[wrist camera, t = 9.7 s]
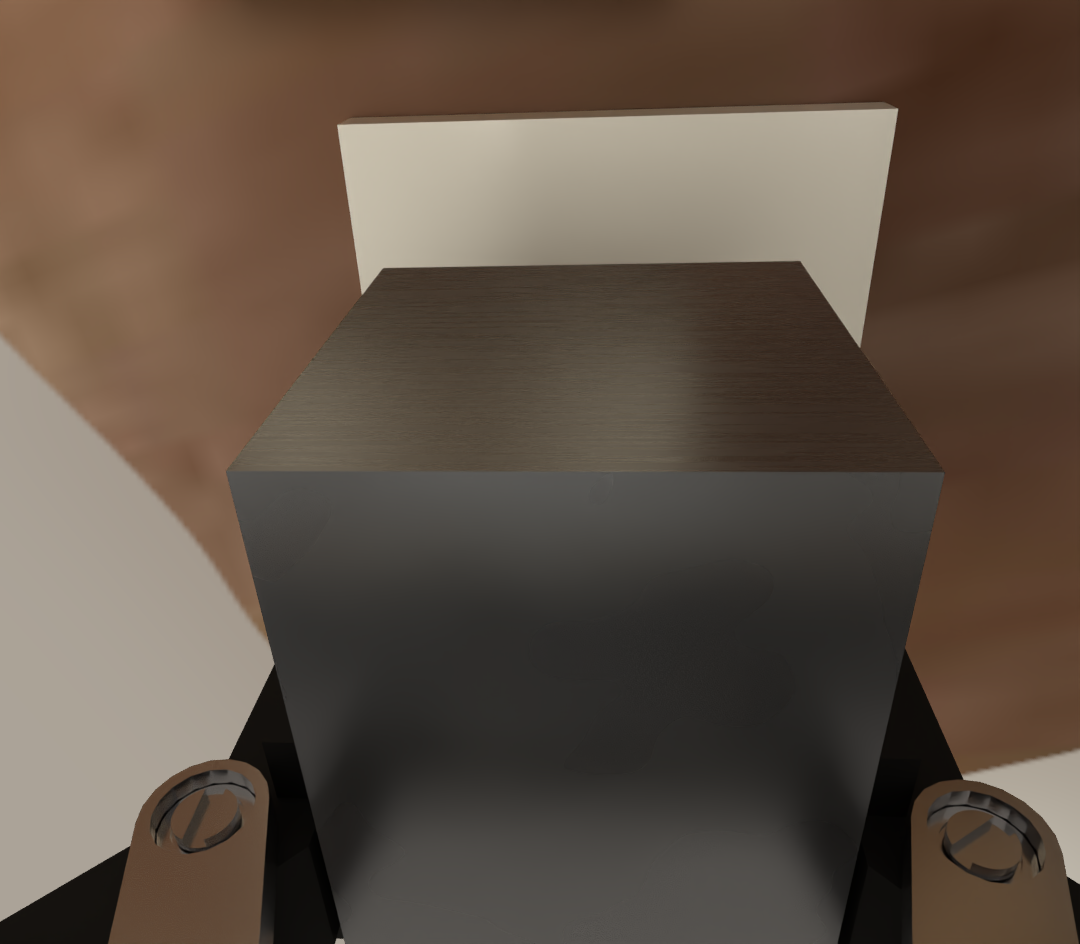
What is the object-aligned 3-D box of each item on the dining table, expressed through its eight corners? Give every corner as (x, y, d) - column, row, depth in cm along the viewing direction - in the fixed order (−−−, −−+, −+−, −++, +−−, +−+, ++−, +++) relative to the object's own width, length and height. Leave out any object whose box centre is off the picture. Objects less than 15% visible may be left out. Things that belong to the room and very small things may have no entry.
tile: (883, 101, 17) (897, 108, 16) (816, 549, 23) (824, 572, 22) (350, 117, 18) (337, 124, 17) (409, 543, 24) (401, 565, 23)
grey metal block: (799, 260, 10) (944, 472, 6) (734, 823, 15) (787, 1163, 11) (383, 267, 10) (225, 472, 6) (453, 814, 15) (394, 1139, 11)
